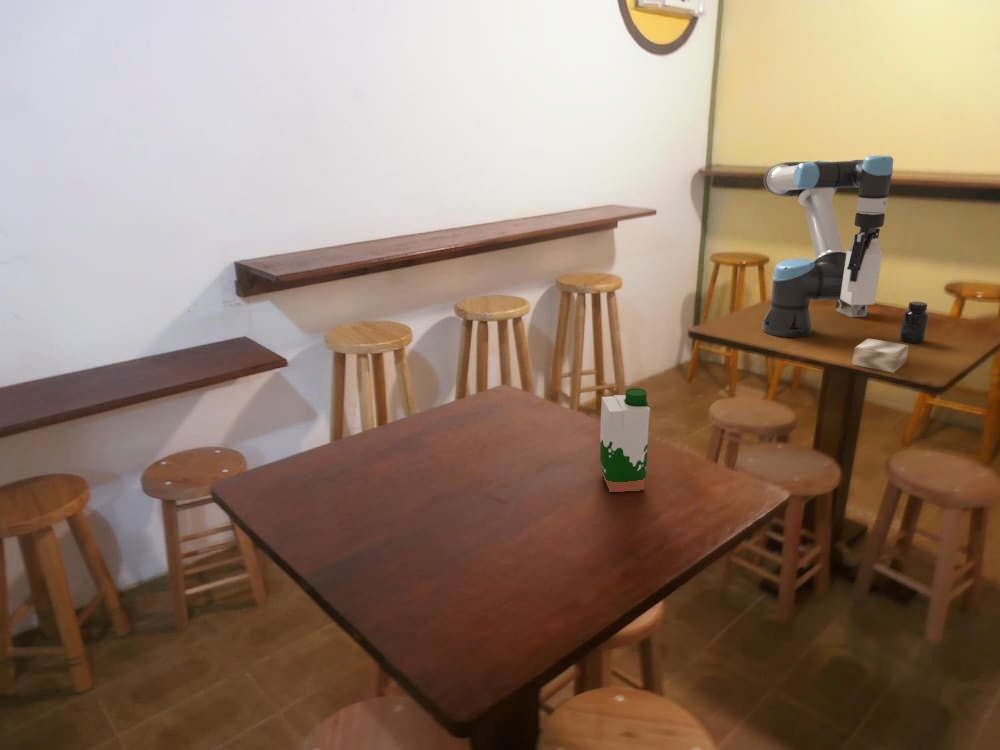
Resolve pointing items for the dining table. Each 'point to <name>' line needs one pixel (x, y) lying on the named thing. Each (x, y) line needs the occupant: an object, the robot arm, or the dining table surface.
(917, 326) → the supplement bottle
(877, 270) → the milk carton
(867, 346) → the pedestal
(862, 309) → the coffee box
